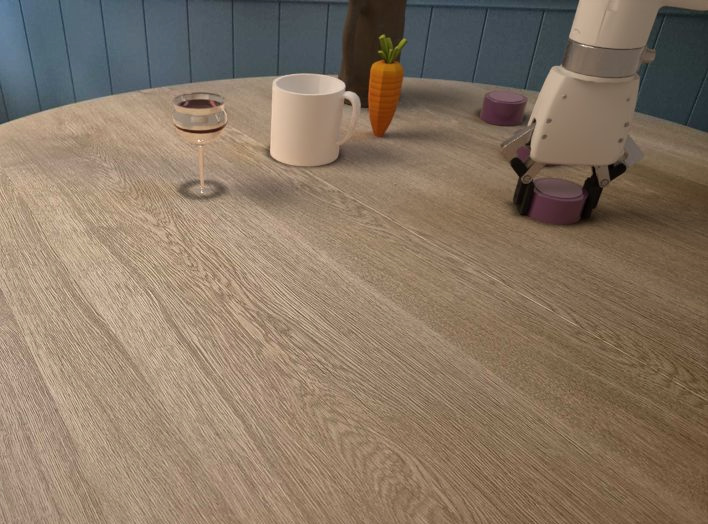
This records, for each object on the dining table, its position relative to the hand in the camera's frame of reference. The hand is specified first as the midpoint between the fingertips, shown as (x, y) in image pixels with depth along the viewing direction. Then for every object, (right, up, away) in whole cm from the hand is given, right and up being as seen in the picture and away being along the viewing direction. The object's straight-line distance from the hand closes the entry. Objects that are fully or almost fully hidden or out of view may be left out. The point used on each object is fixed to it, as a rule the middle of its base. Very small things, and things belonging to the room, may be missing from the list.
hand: (551, 210), depth 82 cm
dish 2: (+4, +10, +14) cm, 18 cm away
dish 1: (+5, +21, +29) cm, 36 cm away
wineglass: (-44, +3, +5) cm, 44 cm away
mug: (-28, +11, +15) cm, 34 cm away
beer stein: (-17, +27, +35) cm, 47 cm away
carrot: (-17, +15, +21) cm, 31 cm away
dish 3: (0, -1, 0) cm, 1 cm away
